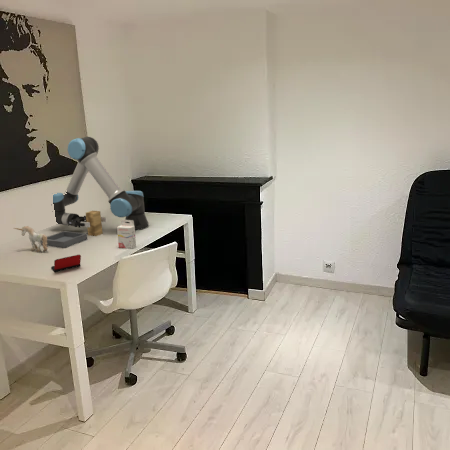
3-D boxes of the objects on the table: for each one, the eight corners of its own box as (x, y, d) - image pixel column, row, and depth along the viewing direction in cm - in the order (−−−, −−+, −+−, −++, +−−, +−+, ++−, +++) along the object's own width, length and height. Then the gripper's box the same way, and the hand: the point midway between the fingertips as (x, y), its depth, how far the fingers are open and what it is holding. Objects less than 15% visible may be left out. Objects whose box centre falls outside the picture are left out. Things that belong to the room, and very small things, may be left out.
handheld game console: (76, 263, 244) (74, 249, 242) (83, 268, 235) (81, 254, 233) (50, 268, 237) (48, 254, 235) (56, 274, 228) (54, 259, 226)
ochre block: (102, 233, 295) (100, 211, 292) (95, 236, 290) (93, 213, 286) (95, 232, 298) (92, 210, 294) (88, 235, 293) (85, 212, 289)
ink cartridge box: (118, 247, 265) (115, 221, 262) (123, 245, 270) (120, 219, 266) (132, 248, 262) (129, 222, 259) (136, 246, 267) (134, 220, 263)
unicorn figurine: (25, 247, 273) (21, 224, 270) (55, 249, 268) (52, 225, 265) (16, 251, 267) (13, 228, 263) (47, 253, 261) (44, 229, 258)
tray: (87, 239, 284) (86, 233, 283) (64, 248, 269) (63, 242, 268) (64, 236, 292) (64, 231, 292) (41, 244, 277) (40, 239, 276)
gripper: (86, 220, 312) (112, 223, 302) (56, 230, 291) (83, 233, 281) (85, 209, 310) (110, 211, 300) (54, 218, 289) (81, 221, 279)
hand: (97, 222), depth 291 cm, fingers open, 13 cm apart
